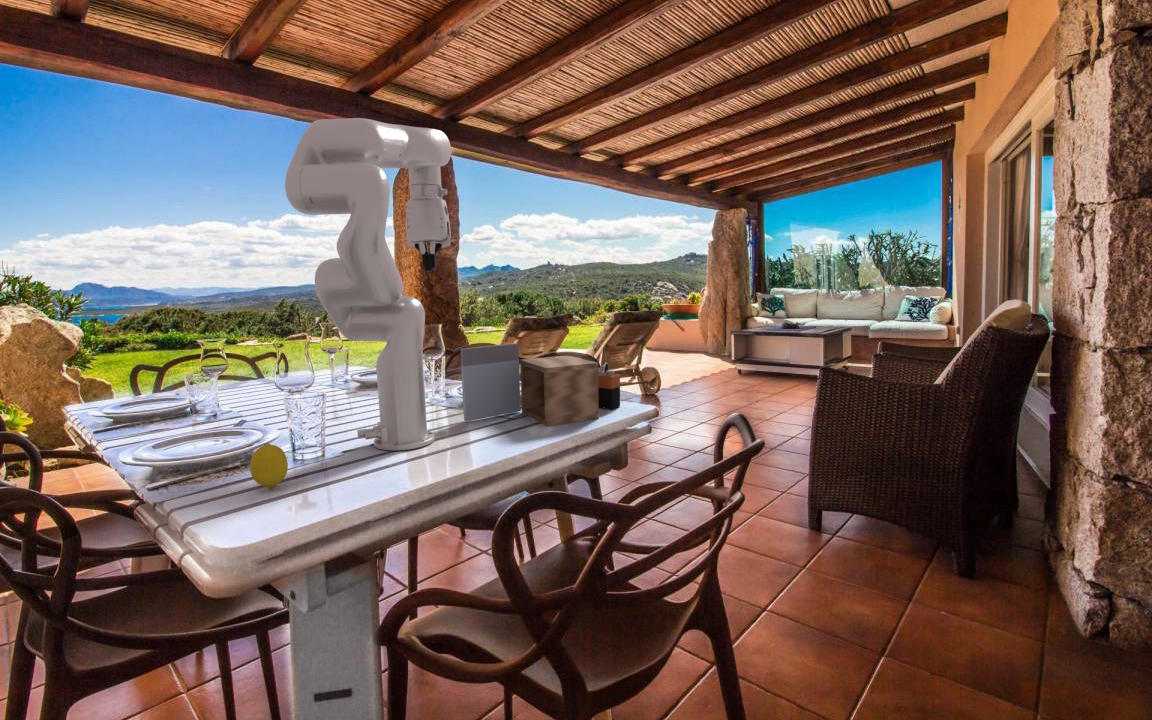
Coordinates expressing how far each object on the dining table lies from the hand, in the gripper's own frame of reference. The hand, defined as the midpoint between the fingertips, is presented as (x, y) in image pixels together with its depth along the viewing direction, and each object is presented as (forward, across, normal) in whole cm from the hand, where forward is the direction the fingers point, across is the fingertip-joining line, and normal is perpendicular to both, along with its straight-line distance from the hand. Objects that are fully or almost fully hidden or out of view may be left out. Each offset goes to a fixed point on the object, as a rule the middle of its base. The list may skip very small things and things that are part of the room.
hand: (430, 270), depth 137 cm
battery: (+37, -43, -9) cm, 58 cm away
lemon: (+37, +14, +50) cm, 64 cm away
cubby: (+37, -31, 0) cm, 49 cm away
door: (+37, -15, +2) cm, 40 cm away
